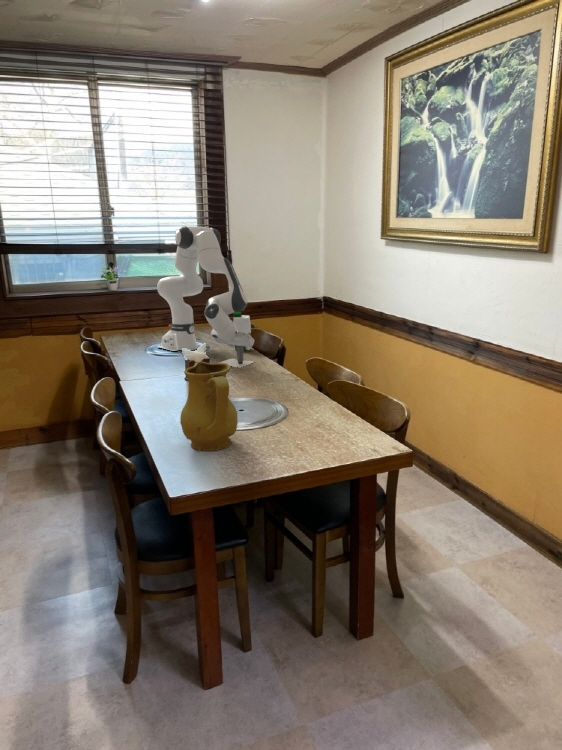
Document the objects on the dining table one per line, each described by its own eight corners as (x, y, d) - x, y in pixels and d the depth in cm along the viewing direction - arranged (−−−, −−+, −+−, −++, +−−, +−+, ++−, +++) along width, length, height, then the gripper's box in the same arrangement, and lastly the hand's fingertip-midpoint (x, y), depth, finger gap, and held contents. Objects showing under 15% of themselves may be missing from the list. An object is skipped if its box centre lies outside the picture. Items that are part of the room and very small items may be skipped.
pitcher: (240, 430, 171) (235, 356, 163) (238, 457, 153) (231, 375, 145) (187, 433, 171) (179, 358, 163) (178, 460, 153) (169, 378, 145)
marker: (235, 363, 253) (234, 335, 250) (239, 362, 256) (238, 333, 252) (241, 364, 252) (240, 335, 248) (245, 363, 254) (244, 334, 251)
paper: (216, 364, 254) (216, 363, 254) (230, 359, 264) (230, 358, 264) (240, 368, 247) (240, 367, 247) (254, 362, 257) (254, 361, 257)
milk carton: (235, 348, 287) (233, 311, 281) (251, 348, 287) (250, 311, 281) (233, 352, 278) (232, 314, 273) (250, 351, 278) (249, 314, 273)
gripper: (249, 327, 238) (261, 344, 248) (212, 323, 248) (226, 340, 259) (243, 339, 235) (256, 355, 246) (207, 334, 245) (221, 351, 256)
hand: (240, 347), depth 252 cm, fingers open, 7 cm apart
